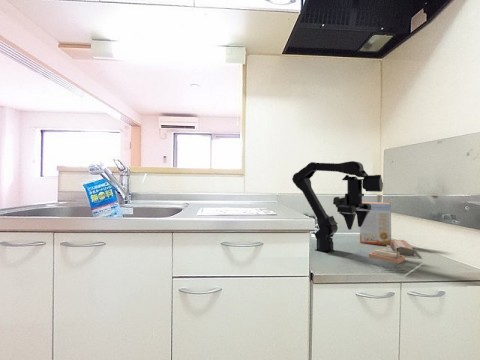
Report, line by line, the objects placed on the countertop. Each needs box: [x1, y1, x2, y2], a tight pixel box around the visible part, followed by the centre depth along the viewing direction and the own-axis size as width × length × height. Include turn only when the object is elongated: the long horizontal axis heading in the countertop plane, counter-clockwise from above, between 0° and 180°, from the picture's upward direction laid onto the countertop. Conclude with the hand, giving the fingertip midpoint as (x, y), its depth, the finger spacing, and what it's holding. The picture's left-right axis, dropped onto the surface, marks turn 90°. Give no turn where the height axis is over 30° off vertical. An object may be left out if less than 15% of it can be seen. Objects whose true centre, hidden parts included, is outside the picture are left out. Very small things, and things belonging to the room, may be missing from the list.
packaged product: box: [386, 239, 420, 260], centre depth 117 cm, size 18×5×10 cm
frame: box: [369, 251, 406, 265], centre depth 107 cm, size 11×8×2 cm
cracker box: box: [359, 201, 392, 247], centre depth 135 cm, size 14×6×21 cm, turn 58°
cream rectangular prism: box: [373, 248, 400, 259], centre depth 107 cm, size 4×8×3 cm, turn 41°
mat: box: [344, 250, 398, 269], centre depth 108 cm, size 18×15×1 cm
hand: (354, 228), depth 112 cm, fingers open, 9 cm apart
